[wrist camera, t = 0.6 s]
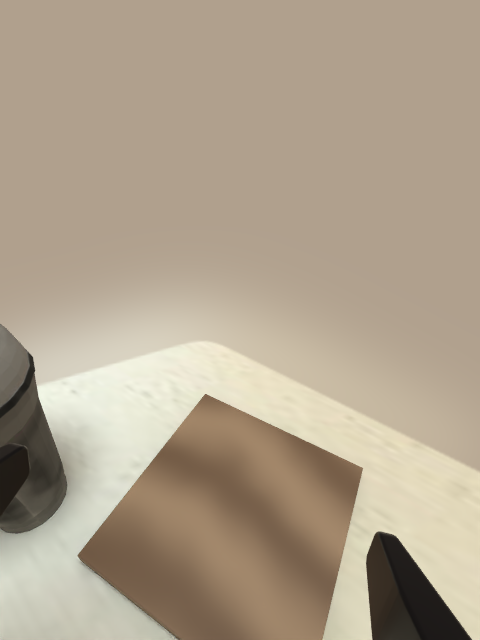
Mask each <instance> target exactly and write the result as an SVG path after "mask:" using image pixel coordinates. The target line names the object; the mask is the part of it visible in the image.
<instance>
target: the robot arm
mask: <svg viewBox="0 0 480 640" xmlns="http://www.w3.org/2000/svg"><path fill="white" fill-rule="evenodd" d="M29 473H30V463H29V454H28V449H27V447H26V446H24V445H19V444H15V443H9V444H6V445H4V446H2V447H0V517H1V516H2V514H3V513H4V511H5V510H6V509H7V507H8V506H9V504H10V503H11V502H12V500H13V499H14V497H15V496H16V494H17V493H18V492H19V490H20V489H21V487H22V486H23V484H24V483H25V482H26V480H27V478H28V476H29ZM366 568H367V580H368V592H369V604H370V616H371V628H372V639H373V640H472V639H471V638H470V636H469V635H468V634H467V632H466V631H465V630H464V628H463V627H462V625H461V624H460V623H459V621H458V620H457V619H456V617H455V616H454V614H453V613H452V612H451V610H450V609H449V608H448V606H447V605H446V604H445V602H444V601H443V599H442V598H441V597H440V595H439V594H438V593H437V591H436V590H435V588H434V587H433V586H432V584H431V583H430V582H429V580H428V579H427V578H426V576H425V575H424V573H423V572H422V571H421V569H420V568H419V567H418V565H417V564H416V562H415V561H414V560H413V558H412V557H411V556H410V554H409V553H408V552H407V550H406V549H405V547H404V546H403V545H402V543H401V542H400V541H399V539H398V538H397V537H396V536H394V535H392V534H388V533H384V532H377V533H376V534H375V536H374V538H373V541H372V543H371V546H370V549H369V551H368V554H367V560H366Z"/></svg>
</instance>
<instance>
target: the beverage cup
mask: <svg viewBox="0 0 480 640" xmlns="http://www.w3.org/2000/svg"><path fill="white" fill-rule="evenodd" d="M34 372H35V367H34V362H33V357H32V356H31V355H30V354H29V352H28V351H27V350H26V349H25V348H24V347H23V346H22V345H21V343H19V342H18V340H17V339H16V338H15V337H14V336H13V335H12V334H11V333H10V332H9V331H8V330H7V329H6V328H5V327H4V326H2V325H1V324H0V447H2V446H4V445H6V444H9V443H15V444H19V445H24V446H26V447H27V449H28V454H29V463H30V473H29V476H28V478H27V480H26V482H25V483H24V484H23V486H22V487H21V489H20V490H19V492H18V493H17V494H16V496H15V497H14V499H13V500H12V502H11V503H10V504H9V506H8V507H7V509H6V510H5V511H4V513H3V514H2V516H1V517H0V528H1V529H2V530H4V531H5V532H10V533H21V532H25V531H29V530H31V529H33V528H35V527H37V526H39V525H41V524H43V523H44V522H45V521H46V520H47V519H49V518H50V517H51V516H52V515H53V514H54V513H55V512H56V510H57V509H58V508H59V507H60V505H61V503H62V501H63V499H64V497H65V495H66V489H67V482H66V477H65V475H64V471H63V466H62V462H61V459H60V456H59V454H58V451H57V448H56V445H55V442H54V440H53V437H52V434H51V431H50V428H49V426H48V423H47V420H46V417H45V414H44V412H43V409H42V406H41V403H40V400H39V398H38V392H37V386H36V380H35V374H34Z"/></svg>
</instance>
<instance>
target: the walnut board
mask: <svg viewBox="0 0 480 640" xmlns="http://www.w3.org/2000/svg"><path fill="white" fill-rule="evenodd" d="M362 470H363V468H362V467H359V466H357V465H355V464H353V463H351V462H349V461H347V460H345V459H342V458H340V457H338V456H336V455H334V454H332V453H330V452H328V451H325V450H323V449H321V448H319V447H317V446H315V445H313V444H311V443H308V442H306V441H304V440H302V439H300V438H298V437H296V436H294V435H291V434H289V433H287V432H285V431H283V430H281V429H279V428H277V427H274V426H272V425H270V424H268V423H266V422H264V421H262V420H260V419H258V418H255V417H253V416H251V415H249V414H247V413H245V412H243V411H241V410H238V409H236V408H234V407H232V406H230V405H228V404H226V403H224V402H221V401H219V400H217V399H215V398H213V397H211V396H209V395H207V394H205V395H204V396H203V397H202V399H201V400H200V401H199V403H198V404H197V405H196V406H195V408H194V409H193V410H192V411H191V413H190V414H189V415H188V416H187V418H186V419H185V420H184V421H183V423H182V424H181V425H180V427H179V428H178V429H177V430H176V432H175V433H174V434H173V435H172V437H171V438H170V439H169V440H168V442H167V443H166V444H165V446H164V447H163V448H162V449H161V451H160V452H159V453H158V454H157V456H156V457H155V458H154V459H153V461H152V462H151V463H150V464H149V466H148V467H147V468H146V470H145V471H144V472H143V473H142V475H141V476H140V477H139V478H138V480H137V481H136V482H135V483H134V485H133V486H132V487H131V489H130V490H129V491H128V492H127V494H126V495H125V496H124V497H123V499H122V500H121V501H120V502H119V504H118V505H117V506H116V507H115V509H114V510H113V511H112V513H111V514H110V515H109V516H108V518H107V519H106V520H105V521H104V523H103V524H102V525H101V526H100V528H99V529H98V530H97V532H96V533H95V534H94V535H93V537H92V538H91V539H90V540H89V542H88V543H87V544H86V545H85V547H84V548H83V549H82V550H81V552H80V553H79V554H78V557H79V558H80V560H81V561H82V562H83V563H84V564H86V565H87V566H88V567H89V568H91V569H92V570H93V571H94V572H96V573H97V574H98V575H99V576H101V577H102V578H103V579H104V580H106V581H107V582H108V583H109V584H111V585H112V586H113V587H114V588H116V589H117V590H118V591H119V592H121V593H122V594H123V595H124V596H126V597H127V598H128V599H129V600H131V601H132V602H133V603H134V604H135V605H137V606H138V607H139V608H140V609H142V610H143V611H144V612H145V613H147V614H148V615H149V616H150V617H152V618H153V619H154V620H155V621H157V622H158V623H159V624H160V625H162V626H163V627H164V628H165V629H167V630H168V631H169V632H170V633H172V634H173V635H174V636H175V637H177V638H178V639H179V640H322V638H323V634H324V630H325V626H326V621H327V617H328V613H329V609H330V605H331V600H332V596H333V592H334V588H335V584H336V579H337V575H338V571H339V567H340V562H341V558H342V554H343V550H344V546H345V541H346V537H347V533H348V529H349V525H350V520H351V516H352V512H353V508H354V504H355V499H356V495H357V491H358V487H359V483H360V478H361V474H362Z"/></svg>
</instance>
